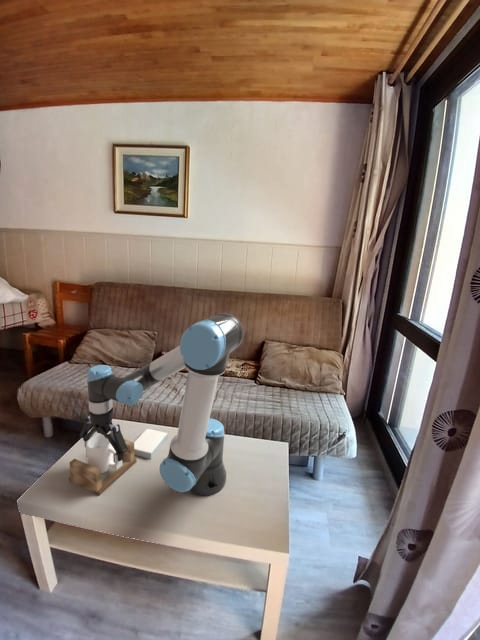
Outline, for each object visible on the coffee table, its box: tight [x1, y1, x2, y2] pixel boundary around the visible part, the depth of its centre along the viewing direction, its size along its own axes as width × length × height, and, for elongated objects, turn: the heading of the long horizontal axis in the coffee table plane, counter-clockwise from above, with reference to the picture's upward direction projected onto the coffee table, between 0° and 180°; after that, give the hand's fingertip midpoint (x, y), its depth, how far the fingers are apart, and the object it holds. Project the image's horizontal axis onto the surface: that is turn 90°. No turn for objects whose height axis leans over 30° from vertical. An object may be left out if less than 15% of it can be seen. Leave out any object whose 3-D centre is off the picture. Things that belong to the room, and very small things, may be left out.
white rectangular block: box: [134, 428, 169, 460], centre depth 128 cm, size 10×14×3 cm
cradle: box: [68, 438, 137, 496], centre depth 112 cm, size 14×18×8 cm
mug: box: [86, 433, 116, 474], centre depth 111 cm, size 9×12×11 cm
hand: (104, 461), depth 112 cm, fingers open, 13 cm apart
